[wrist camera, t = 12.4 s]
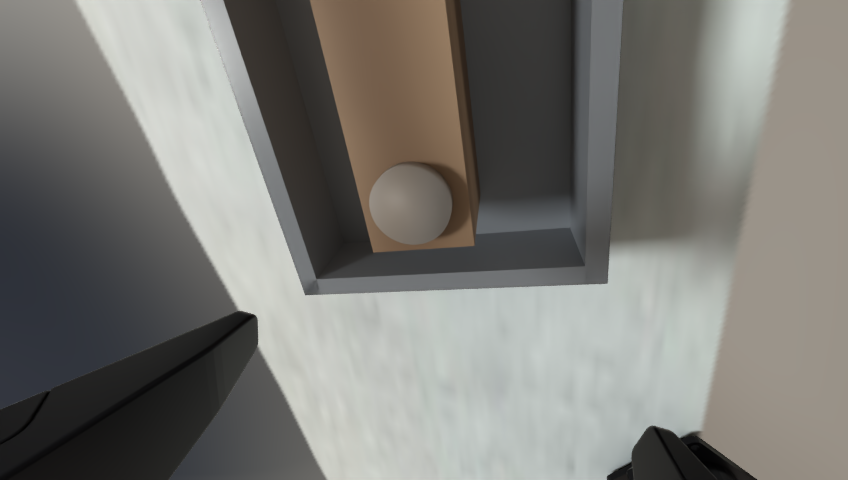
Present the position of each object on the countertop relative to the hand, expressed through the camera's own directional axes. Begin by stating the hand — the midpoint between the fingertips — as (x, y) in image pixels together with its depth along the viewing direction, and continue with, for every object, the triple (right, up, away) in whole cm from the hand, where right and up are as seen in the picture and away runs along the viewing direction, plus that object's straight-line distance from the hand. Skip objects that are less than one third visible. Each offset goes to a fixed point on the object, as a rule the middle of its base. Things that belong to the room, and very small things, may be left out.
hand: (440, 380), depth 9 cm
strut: (-1, +10, +6) cm, 12 cm away
